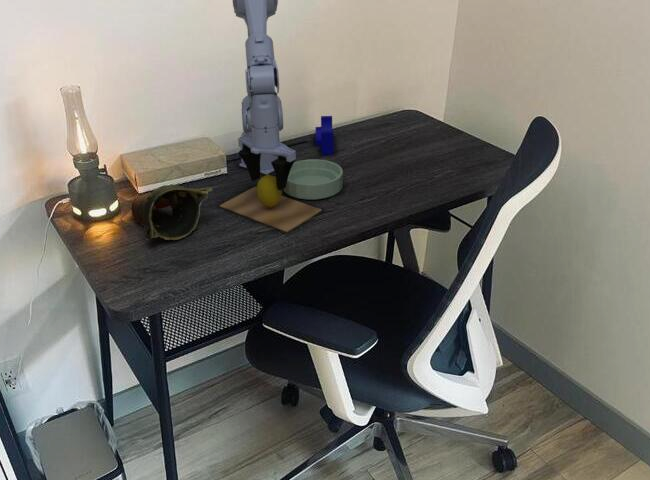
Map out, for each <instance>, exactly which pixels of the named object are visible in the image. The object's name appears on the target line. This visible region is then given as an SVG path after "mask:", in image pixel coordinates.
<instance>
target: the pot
mask: <svg viewBox="0 0 650 480" xmlns="http://www.w3.org/2000/svg"><path fill="white" fill-rule="evenodd" d="M212 190H213V187H212V186H206V187H201V188H192V187H186V186H182V185H179V184H172V183H171V184H168V185H161V186H159V187H158V188H156V189H154V190H153V191H152V192H149V193H145V194H142V195H140V196H138V197H136V198H134V200H133V201H132V203H131V208H130V209H131V215H132V218H134V219H135V221H136V222H138V223H139V224H141V226H143V229H144V236H145V240H148V241H149V240H151V239H153V238H154V239H155V238H159V237H160V238H161V239H164V240H168V241H170V240H173V241H175V240H180V239H183V238H185V237H186V236H188V235H190V234H191V233H192V231H194V230H195V228H196V227H197V225H198V222H199V218H200V214H201V212H200V211H201V204H202V203H203V201H205V200H206V199H207V198H208V197H209V194H208V193H209V192H212ZM167 207H170V208H171V222H169V223H168V224H167V225H166V226H162V225H157V224H156V221H155V218H154V215H153V209H154V208H155V210H156V212H158V211H159V209H160V210H161V209H165V208H167Z"/></svg>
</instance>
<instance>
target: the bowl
mask: <svg viewBox="0 0 650 480" xmlns="http://www.w3.org/2000/svg"><path fill="white" fill-rule="evenodd" d="M343 171H344V170H343V168H342V166H341V165H339V164H337V163H336V162H334V161H330V160H326V159H318V158H312V159H311V158H309V159H301V160H295V162H294V164H293V166H292V168H291V170H290V173H289V176H288V180H287V184H286V188H284V189H282V191H283V192H284V193H286V195H288V196H290V197H293V198H296V199H300V200H321V199H327V198H331V197H333V196H335V195H337V194H338V193H340V192H341V191H342V189H343V187H344V186H343V184H344V183H343V182H344V175H343V174H344V172H343Z"/></svg>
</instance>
